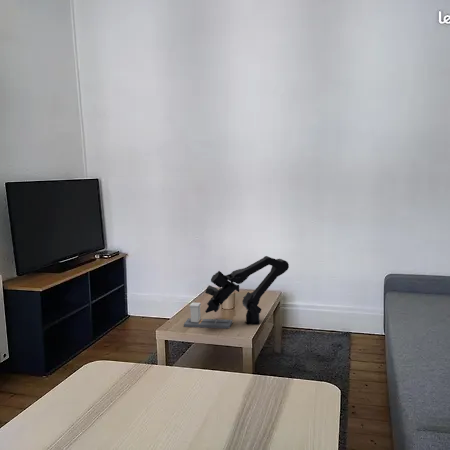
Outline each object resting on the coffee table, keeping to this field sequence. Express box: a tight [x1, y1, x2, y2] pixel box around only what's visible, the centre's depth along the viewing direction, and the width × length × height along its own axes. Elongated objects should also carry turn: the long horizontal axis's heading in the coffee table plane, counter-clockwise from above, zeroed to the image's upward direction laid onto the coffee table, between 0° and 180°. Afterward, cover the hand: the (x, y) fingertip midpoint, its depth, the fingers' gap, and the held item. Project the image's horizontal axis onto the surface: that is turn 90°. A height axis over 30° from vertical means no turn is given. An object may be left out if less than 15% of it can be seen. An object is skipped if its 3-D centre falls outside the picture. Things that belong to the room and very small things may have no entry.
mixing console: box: [183, 317, 233, 329], centre depth 241 cm, size 24×9×2 cm, turn 80°
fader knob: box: [189, 302, 202, 322], centre depth 241 cm, size 5×6×9 cm
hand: (205, 312), depth 240 cm, fingers closed
